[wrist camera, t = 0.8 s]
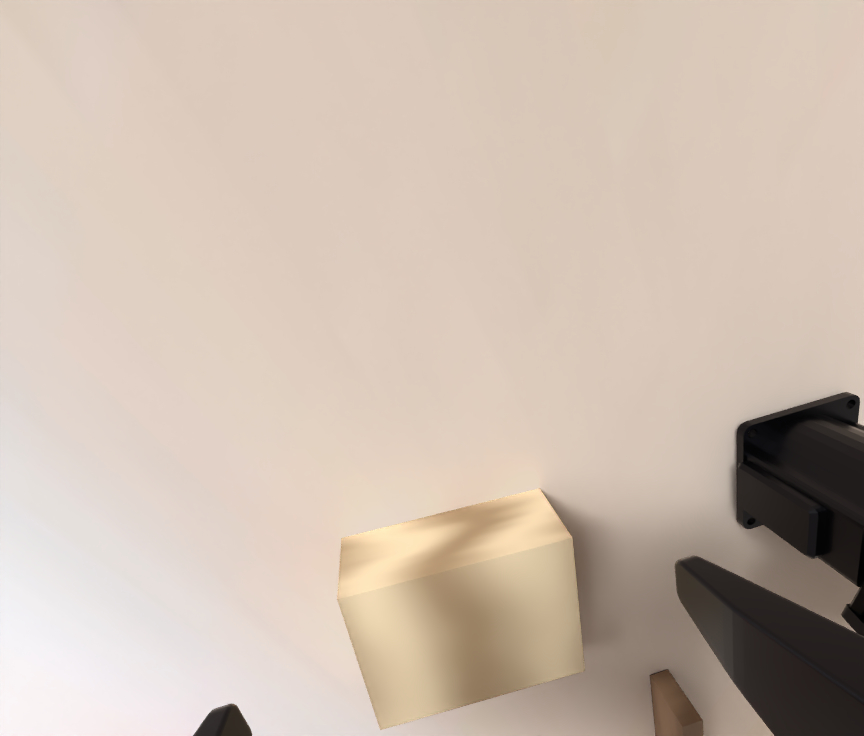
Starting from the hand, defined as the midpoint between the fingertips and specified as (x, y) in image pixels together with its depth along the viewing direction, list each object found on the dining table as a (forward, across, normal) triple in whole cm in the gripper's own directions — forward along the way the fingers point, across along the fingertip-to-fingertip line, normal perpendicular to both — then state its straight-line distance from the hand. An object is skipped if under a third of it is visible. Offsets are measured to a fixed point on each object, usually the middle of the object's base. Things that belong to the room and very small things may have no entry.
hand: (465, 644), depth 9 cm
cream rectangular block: (+12, 0, +10) cm, 16 cm away
